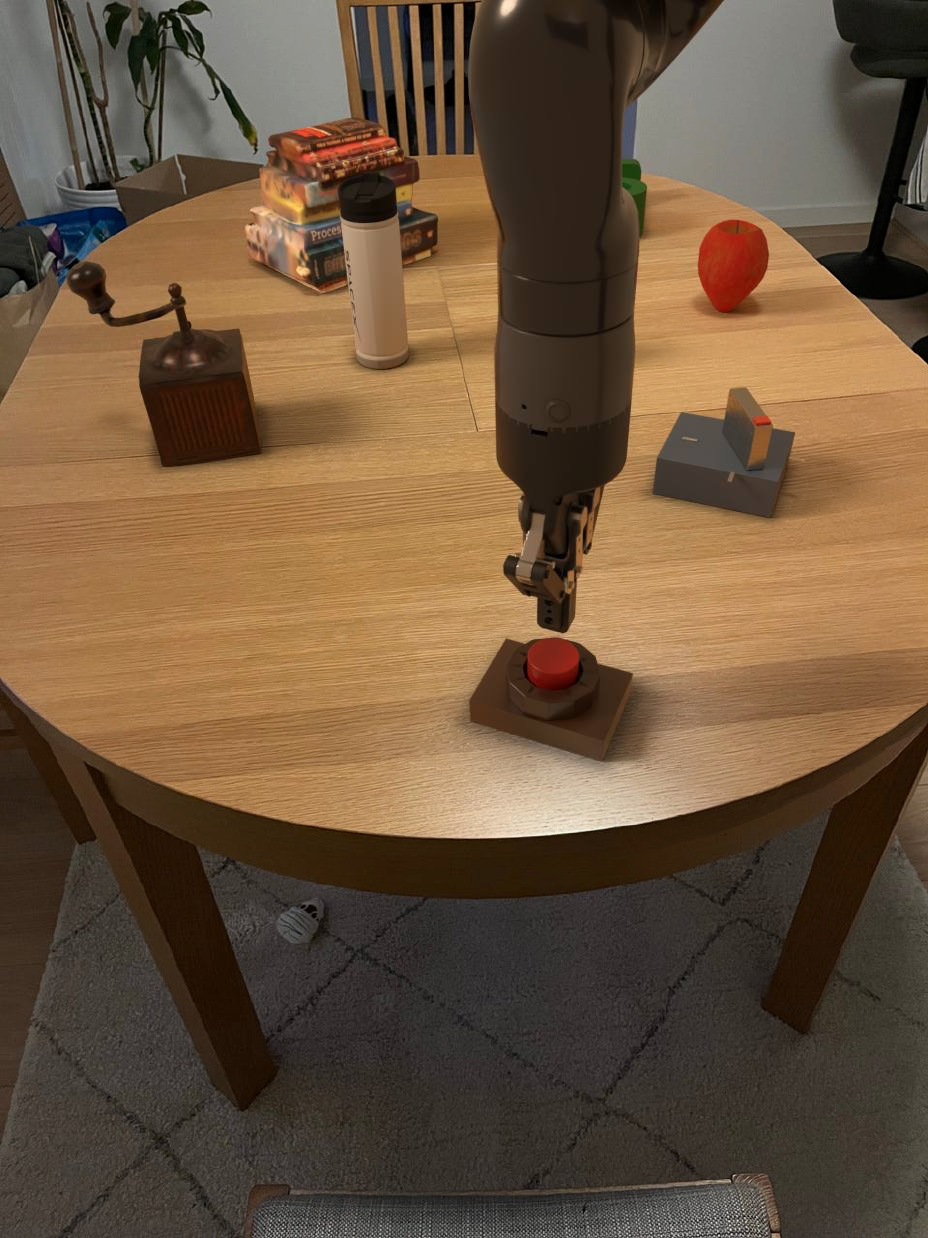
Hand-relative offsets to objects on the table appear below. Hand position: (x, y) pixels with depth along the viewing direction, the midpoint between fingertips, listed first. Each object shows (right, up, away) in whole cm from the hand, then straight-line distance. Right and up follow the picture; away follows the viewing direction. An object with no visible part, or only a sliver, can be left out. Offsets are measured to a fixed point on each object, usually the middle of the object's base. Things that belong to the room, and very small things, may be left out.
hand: (555, 624), depth 62 cm
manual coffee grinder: (-36, +19, +37) cm, 55 cm away
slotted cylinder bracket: (+17, +62, +81) cm, 103 cm away
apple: (+27, +40, +56) cm, 74 cm away
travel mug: (-16, +32, +49) cm, 61 cm away
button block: (0, -6, +6) cm, 9 cm away
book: (-24, +53, +73) cm, 93 cm away
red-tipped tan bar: (+20, +16, +24) cm, 35 cm away
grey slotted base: (+19, +14, +27) cm, 36 cm away
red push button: (0, -3, +3) cm, 5 cm away
